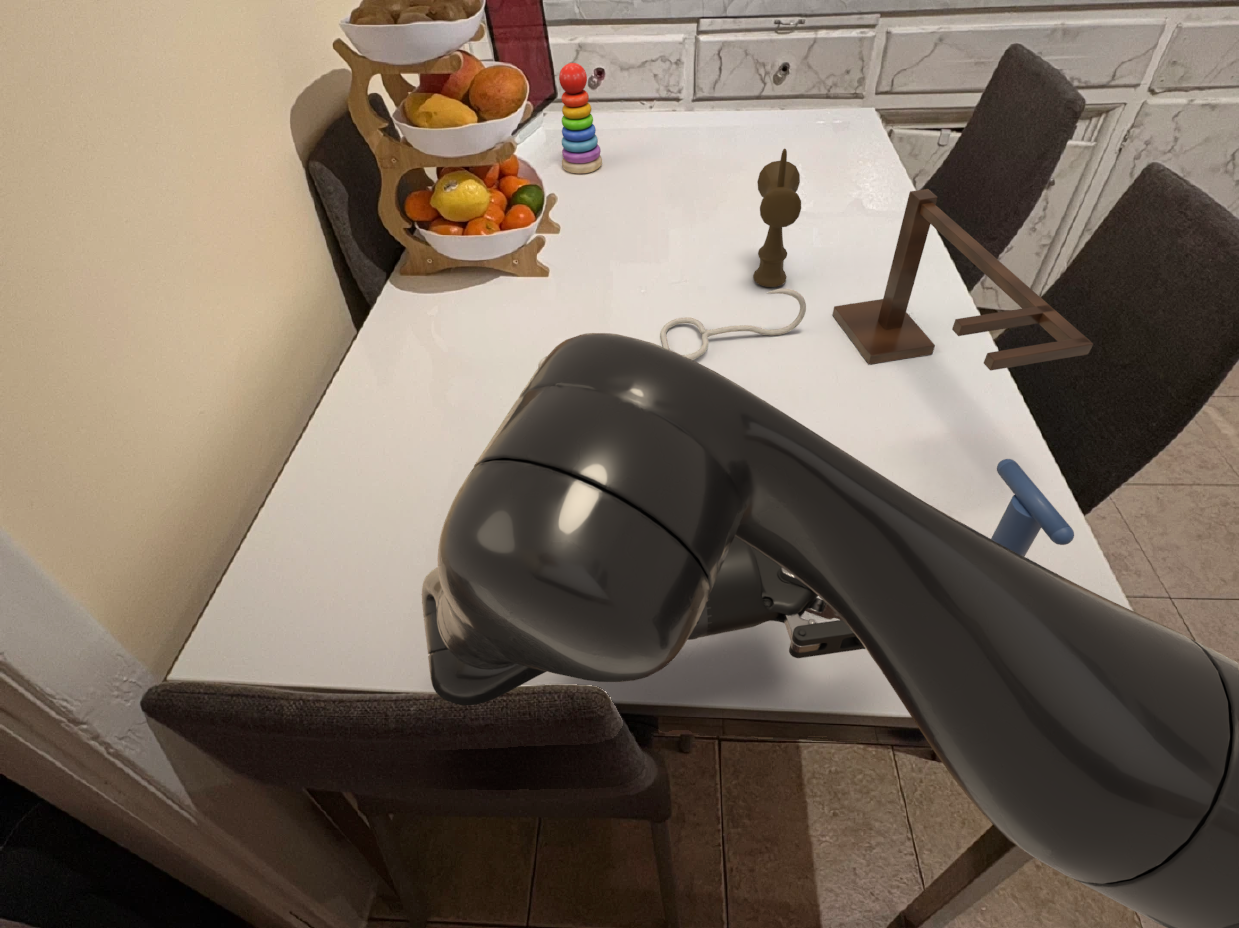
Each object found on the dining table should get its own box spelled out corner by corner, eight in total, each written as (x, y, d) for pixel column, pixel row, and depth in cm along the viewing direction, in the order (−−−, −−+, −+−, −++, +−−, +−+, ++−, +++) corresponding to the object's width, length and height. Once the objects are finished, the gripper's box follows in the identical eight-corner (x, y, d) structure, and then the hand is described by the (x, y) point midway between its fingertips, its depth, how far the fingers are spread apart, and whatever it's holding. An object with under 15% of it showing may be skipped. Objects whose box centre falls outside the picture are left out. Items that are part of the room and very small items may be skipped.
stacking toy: (573, 156, 147) (563, 54, 134) (608, 161, 144) (603, 57, 131) (555, 172, 142) (544, 67, 129) (592, 177, 139) (584, 71, 126)
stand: (1043, 484, 79) (1125, 333, 65) (936, 504, 78) (996, 354, 64) (891, 305, 104) (926, 169, 90) (808, 318, 103) (831, 182, 89)
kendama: (788, 265, 113) (805, 134, 99) (790, 298, 107) (810, 163, 93) (749, 264, 114) (761, 134, 100) (749, 297, 107) (762, 163, 93)
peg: (972, 662, 64) (1044, 541, 52) (925, 585, 70) (980, 459, 58) (1017, 653, 65) (1100, 530, 53) (967, 576, 71) (1030, 450, 59)
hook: (815, 348, 97) (670, 379, 98) (796, 309, 104) (660, 339, 105) (816, 302, 92) (661, 336, 93) (796, 264, 99) (652, 297, 100)
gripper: (720, 642, 48) (948, 596, 49) (668, 487, 57) (860, 454, 59) (713, 696, 53) (920, 653, 55) (667, 546, 63) (843, 514, 65)
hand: (888, 550), depth 57 cm, fingers open, 8 cm apart
